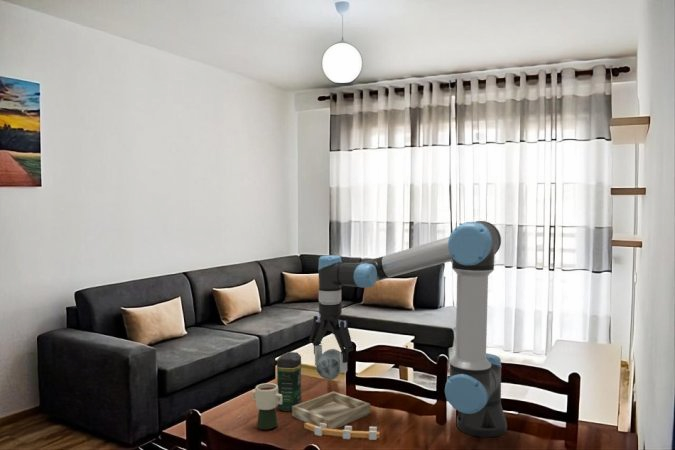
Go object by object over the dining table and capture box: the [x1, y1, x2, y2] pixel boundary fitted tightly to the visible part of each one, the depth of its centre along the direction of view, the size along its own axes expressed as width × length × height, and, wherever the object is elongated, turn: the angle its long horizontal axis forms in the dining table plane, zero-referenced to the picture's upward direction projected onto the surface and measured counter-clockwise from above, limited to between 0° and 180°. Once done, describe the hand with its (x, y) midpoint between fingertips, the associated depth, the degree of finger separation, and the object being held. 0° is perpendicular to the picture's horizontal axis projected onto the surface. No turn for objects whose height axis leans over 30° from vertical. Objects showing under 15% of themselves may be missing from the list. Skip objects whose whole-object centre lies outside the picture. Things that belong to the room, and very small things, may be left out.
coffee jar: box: [276, 351, 303, 412], centre depth 186 cm, size 10×8×19 cm
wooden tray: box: [291, 390, 371, 430], centre depth 178 cm, size 17×19×4 cm
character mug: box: [251, 382, 283, 430], centre depth 169 cm, size 11×7×13 cm, turn 68°
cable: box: [303, 422, 380, 439], centre depth 164 cm, size 24×4×1 cm, turn 71°
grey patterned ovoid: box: [315, 348, 341, 381], centre depth 178 cm, size 14×10×10 cm
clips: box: [313, 423, 378, 441], centre depth 163 cm, size 19×5×2 cm, turn 78°
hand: (330, 368), depth 178 cm, fingers closed on grey patterned ovoid, 11 cm apart
